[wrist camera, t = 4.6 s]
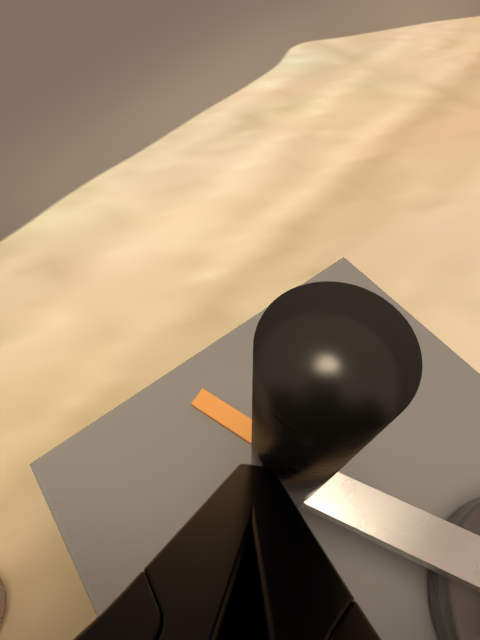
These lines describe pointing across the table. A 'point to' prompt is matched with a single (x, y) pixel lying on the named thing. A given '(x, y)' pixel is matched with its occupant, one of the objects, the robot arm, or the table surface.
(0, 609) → the adjustable wrench
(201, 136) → the table surface
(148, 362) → the table surface
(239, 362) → the level stand
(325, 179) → the table surface
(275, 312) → the crank handle
